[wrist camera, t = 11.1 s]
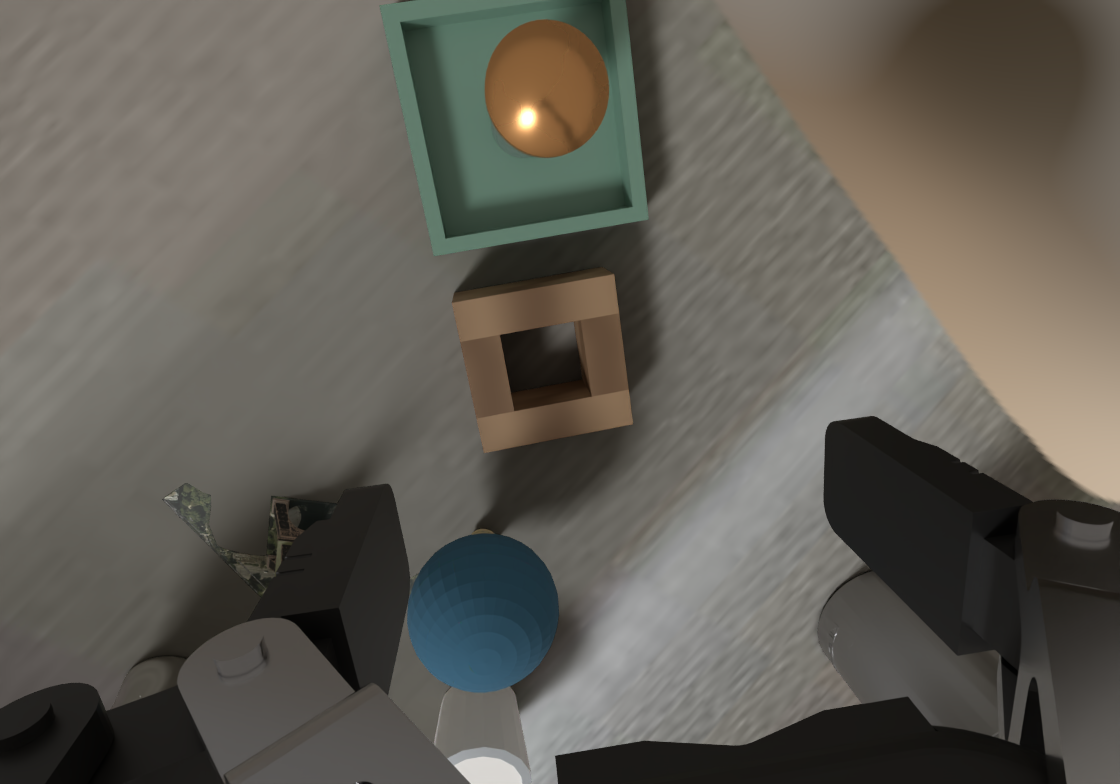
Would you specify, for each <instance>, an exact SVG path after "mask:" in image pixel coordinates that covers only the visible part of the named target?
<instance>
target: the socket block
mask: <svg viewBox="0 0 1120 784" xmlns="http://www.w3.org/2000/svg"><path fill="white" fill-rule="evenodd" d="M452 305H453V310H454V315H455V319H456V324H457V329H458V333H459V338H460V343H461V347H462V352H463V357H464V362H465V366H466V371H467V376H468V380H469V385H470V390H471V394H472V399H473V404H474V408H475V413H476V418H477V423H478V427H479V432H480V437H481V441H482V446H483V451H484V453H487V452H492V451H497V450H502V449H508V448H513V447H518V446H523V445H528V444H533V443H538V442H544V441H549V440H554V439H559V438H564V437H569V436H575V435H580V434H585V433H590V432H595V431H600V430H605V429H611V428H616V427H621V426H626V425H631V424H633V420H632V412H631V404H630V396H629V388H628V380H627V372H626V364H625V356H624V349H623V341H622V333H621V325H620V317H619V309H618V301H617V293H616V285H615V277H614V274H613V273H611V272H610V271H608V270H607V269H605V268H603V267H598V268H592V269H586V270H581V271H575V272H569V273H564V274H558V275H552V276H547V277H541V278H535V279H529V280H524V281H518V282H512V283H507V284H501V285H495V286H489V287H484V288H478V289H472V290H467V291H461V292H455V293H454V296H453V301H452ZM573 321H574V327H575V333H576V340H577V346H578V353H579V360H580V366H581V373H582V380H577V381H571V382H566V383H561V384H555V385H550V386H545V387H539V388H534V389H529V390H523V391H518V392H513V393H511V389H510V384H509V379H508V374H507V368H506V363H505V358H504V353H503V347H502V342H501V337H500V335H501V334H507V333H512V332H518V331H524V330H529V329H535V328H540V327H546V326H551V325H557V324H562V323H568V322H573Z"/></svg>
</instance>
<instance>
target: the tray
mask: <svg viewBox="0 0 1120 784" xmlns="http://www.w3.org/2000/svg"><path fill="white" fill-rule="evenodd" d="M379 6H380V10H381V15H382V19H383V24H384V29H385V33H386V38H387V42H388V47H389V52H390V56H391V61H392V66H393V70H394V75H395V79H396V84H397V89H398V93H399V98H400V102H401V107H402V112H403V116H404V121H405V125H406V130H407V135H408V139H409V144H410V148H411V153H412V158H413V162H414V167H415V171H416V176H417V181H418V185H419V190H420V194H421V199H422V204H423V208H424V213H425V217H426V222H427V227H428V231H429V236H430V240H431V245H432V250H433V254H434V256H438V255H444V254H449V253H455V252H461V251H467V250H473V249H479V248H485V247H490V246H496V245H502V244H508V243H514V242H520V241H526V240H531V239H537V238H543V237H549V236H555V235H561V234H567V233H572V232H578V231H584V230H590V229H596V228H602V227H608V226H613V225H619V224H625V223H631V222H637V221H643V220H649V218H648V209H647V199H646V190H645V180H644V170H643V161H642V151H641V142H640V132H639V123H638V113H637V104H636V94H635V85H634V75H633V66H632V56H631V47H630V37H629V28H628V18H627V8H626V0H414V1H407V2H400V3H393V4H386V5H379ZM543 19H548V20H557V21H561V22H564V23H567V24H569V25H571V26H573V27H575V28H577V29H578V30H580V31H581V32H582V33H584V34H585V35H586V36H587V37H588V38H589V39H590V40H591V41H592V43H593V44H594V45H595V46H596V48H597V49H598V51H599V53H600V54H601V56H602V59H603V61H604V63H605V67H606V70H607V74H608V80H609V100H608V105H607V109H606V113H605V116H604V118H603V120H602V123H601V125H600V126H599V128H598V130H597V131H596V132H595V134H594V135H593V136H592V137H591V138H590V139H589V140H588V141H587V142H586V143H585V144H584V145H582V146H581V147H580V148H578V149H576V150H574V151H573V152H570V153H568V154H565V155H562V156H558V157H554V158H538V157H529V158H517V157H514V156H511V155H509V154H507V153H506V152H504V151H503V150H502V149H501V148H500V147H499V146H498V144H497V143H496V141H495V139H494V137H493V134H492V129H491V120H490V117H489V114H488V112H487V107H486V103H485V77H486V71H487V67H488V63H489V61H490V58H491V56H492V54H493V52H494V50H495V48H496V47H497V45H498V44H499V43H500V41H501V40H502V39H503V38H504V37H505V36H506V35H507V34H508V33H509V32H511V31H512V30H513V29H515V28H517V27H518V26H520V25H522V24H525V23H527V22H530V21H535V20H543Z"/></svg>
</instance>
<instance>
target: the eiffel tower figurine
mask: <svg viewBox="0 0 1120 784" xmlns="http://www.w3.org/2000/svg"><path fill="white" fill-rule="evenodd" d="M162 500H163V501H164V502H165V503H166V504H167V505H168V506H169V507H170V508H171V509H172V510H173V511H174V512H175V513H176V514H177V515H178V516H179V517H180V518H181V519H182V520H183V521H184V522H185V523H186V524H187V525H188V526H189V527H190V528H191V529H192V530H193V531H194V532H195V533H196V534H197V535H198V536H199V537H200V538H201V539H203V540H204V541H205V542H206V543H207V544H208V545H209V546H210V547H211V548H212V549H213V550H214V551H215V552H216V553H217V554H218V555H219V556H220V557H221V558H222V559H223V560H224V561H225V562H226V563H227V564H228V565H229V566H230V567H231V568H232V569H233V570H234V571H235V572H236V573H237V574H238V575H239V576H240V577H241V578H242V579H243V580H244V581H245V582H246V583H247V584H248V585H249V586H250V587H251V588H252V589H253V590H254V591H255V592H256V593H257V594H258V595H259V596H260V597H262V595H263V594H264V592H265V590H266V589H267V587H268V585H269V583H270V582H271V580H272V578H273V577H276V571H277V569H278V568H279V566H280V564H281V563H282V561H285V556H286V554H287V552H288V550H289V549H290V547H291V545H292V543H293V542H294V540H295V538H297V537H298V536H299V535H300V534H302V533H303V532H304V531H305V530H306V529H308V528H309V527H310V526H311V525H312V524H314V523H315V522H316V521H321V520H328V519H330V518H331V516H332V514H333V512H334V510H335V508H336V506H337V504H336V503H327V502H319V501H311V500H303V499H294V498H286V497H278V496H271V506H270V518H269V531H268V543H267V555H264V556H257V555H250V554H244V553H238V552H235V551H231V550H226V549H224V548H221V547H219V546H217V544H216V541H215V539H214V536H213V534H212V531H211V529H210V526H209V518H210V511H211V495H209V494H206V493H203V492H201V491H200V490H198V489H196V488H195V487H193V486H191V485H190V484H188V483H185V484H184V485H182V486H181V487H179V488H178V489H177V490H175V491H174V492H172V493H171V494H169V495H168V496H167V497H165V498H164V499H162ZM418 574H419V573H418ZM418 574H416V575H415V576H413V577H412V578H411V579H410V594H411V591H412V588H413V585H414V582H415V579H416V578H417V576H418Z"/></svg>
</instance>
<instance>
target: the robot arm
mask: <svg viewBox="0 0 1120 784" xmlns="http://www.w3.org/2000/svg"><path fill="white" fill-rule="evenodd" d="M824 508H825V512H826V516H827V519H828V521H829V524H830V525H831V527H832V529H833V530H834V532H835V533H836V534H837V535H838V536H839V537H840V538H841V539H842V540H843V541H844V542H845V543H846V544H847V545H848V546H849V547H850V548H851V549H852V550H853V551H854V552H855V553H856V554H857V555H858V556H859V557H860V558H861V559H862V560H863V561H864V562H865V563H866V564H867V565H868V566H869V567H870V568H871V569H872V570H873V571H871V572H868V573H865V574H863V575H860V576H857V577H856V578H854V579H852V580H851V581H849V582H847V583H846V584H845V585H843V586H842V587H841V588H840V589H839V590H838V591H836V592H835V594H834V595H833V596H832V597H831V598H830V600H829V601H828V602H827V604H826V606H825V608H824V609H823V611H822V614H821V617H820V620H819V623H818V639H819V644H820V646H821V648H822V650H823V652H824V653H825V655H826V656H827V657H828V659H829V660H830V661H831V663H832V664H833V666H834V668H835V669H836V671H837V672H838V673H839V674H840V675H841V676H842V678H843V679H844V680H845V682H846V683H847V684H848V686H849V687H850V688H851V690H852V691H853V693H854V694H855V695H856V697H857V698H858V699H859V701H860V702H861V703H862V704H859V705H853V706H847V707H842V708H836V709H830V710H824V711H821V712H819V713H817V714H815V715H812V716H810V717H808V718H806V719H803V720H801V721H799V722H797V723H795V724H792V725H790V726H788V727H786V728H783V729H781V730H779V731H777V732H774V733H772V734H770V735H768V736H766V737H763V738H761V739H759V740H757V741H754V742H752V743H749V744H746V745H740V746H730V745H712V744H693V743H675V742H656V741H640V742H634V743H628V744H622V745H616V746H611V747H605V748H599V749H593V750H587V751H581V752H575V753H569V754H563V755H557V756H555V758H556V767H557V777H558V784H1120V512H1119V511H1116V510H1113V509H1110V508H1107V507H1103V506H1100V505H1095V504H1091V503H1086V502H1080V501H1072V500H1057V499H1054V500H1041V501H1035V502H1032V501H1031V500H1029V499H1027V498H1025V497H1024V496H1022V495H1020V494H1018V493H1017V492H1015V491H1013V490H1012V489H1010V488H1008V487H1006V486H1005V485H1003V484H1001V483H999V482H998V481H996V480H994V479H993V478H991V477H989V476H987V475H986V474H984V473H980V474H979V472H978V470H977V469H975V468H974V467H972V466H970V465H968V464H967V463H965V462H960V459H958V458H956V457H955V456H953V455H951V454H949V453H948V452H946V451H944V450H942V449H941V448H939V447H937V446H934V445H931V444H928V443H924V442H921V441H918V440H915V439H913V438H911V437H909V436H908V435H906V434H904V433H903V432H901V431H899V430H898V429H896V428H894V427H893V426H891V425H889V424H888V423H886V422H884V421H882V420H881V419H879V418H877V417H875V416H869V417H862V418H855V419H848V420H840V421H834V422H831V423H830V424H829V425H828V427H827V430H826V434H825V462H824ZM409 594H410V572H409V564H408V558H407V554H406V549H405V544H404V540H403V535H402V530H401V526H400V521H399V516H398V512H397V507H396V502H395V498H394V494H393V491H392V488H391V486H390V485H389V484H381V485H374V486H367V487H360V488H353V489H346V490H345V491H344V492H343V494H342V496H341V498H340V500H339V502H338V504H337V506H336V508H335V510H334V512H333V514H332V516H331V518H330V519H328V520H321V521H316V522H315V523H314V524H312V525H311V526H310V527H309V528H308V529H306V530H305V531H304V532H303V533H302V534H300V535H299V536H298V537H297V538H295V540H294V542H293V543H292V545H291V547H290V549H289V550H288V552H287V554H286V556H285V561H282V563H281V564H280V566H279V568H278V569H277V571H276V577H273V578H272V580H271V582H270V583H269V585H268V587H267V589H266V590H265V592H264V594H263V595H262V597H261V599H260V601H259V602H258V604H257V606H256V608H255V609H254V611H253V613H252V615H251V616H250V618H249V620H248V621H247V622H245V623H242V624H240V625H237V626H234V627H232V628H230V629H227V630H225V631H223V632H221V633H220V634H218V635H216V636H214V637H213V638H211V639H210V640H208V641H207V642H205V643H204V644H203V645H201V646H200V647H199V648H198V649H197V650H195V651H194V652H193V653H192V654H191V655H190V656H189V658H188V659H187V660H186V661H185V662H184V664H183V666H182V667H181V669H180V671H179V674H178V679H177V684H178V685H176V686H174V687H171V688H169V689H166V690H164V691H161V692H158V693H155V694H153V695H150V696H147V697H144V698H141V699H139V700H136V701H133V702H130V703H128V704H125V705H122V706H119V707H116V708H114V709H111V710H108V711H106V710H105V708H104V705H103V703H102V701H101V698H100V696H99V694H98V691H97V690H96V689H95V688H94V687H93V686H91V685H88V684H84V683H68V684H61V685H57V686H52V687H49V688H46V689H42V690H39V691H37V692H34V693H32V694H29V695H27V696H24V697H22V698H20V699H18V700H16V701H14V702H12V703H10V704H8V705H6V706H5V707H3V708H1V709H0V784H471V783H470V782H469V781H468V780H467V779H466V778H465V777H464V776H463V775H462V774H461V773H460V772H459V771H458V770H457V769H456V767H455V766H454V765H453V764H452V763H451V762H450V761H449V760H448V759H447V758H446V757H445V756H444V755H443V754H442V753H441V752H440V750H439V749H438V748H437V747H436V746H435V745H434V744H433V743H432V742H431V741H430V740H429V739H428V738H427V737H426V736H425V735H424V733H423V732H422V731H421V730H420V729H419V728H418V727H417V726H416V725H415V724H414V723H413V722H412V721H411V720H410V719H409V718H408V716H407V715H406V714H405V713H404V712H403V711H402V710H401V709H400V708H399V707H398V706H397V705H396V704H395V703H394V702H393V701H392V699H391V698H390V697H389V696H388V693H389V688H390V684H391V679H392V674H393V670H394V665H395V660H396V656H397V651H398V646H399V642H400V637H401V632H402V627H403V623H404V618H405V613H406V609H407V604H408V599H409Z"/></svg>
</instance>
